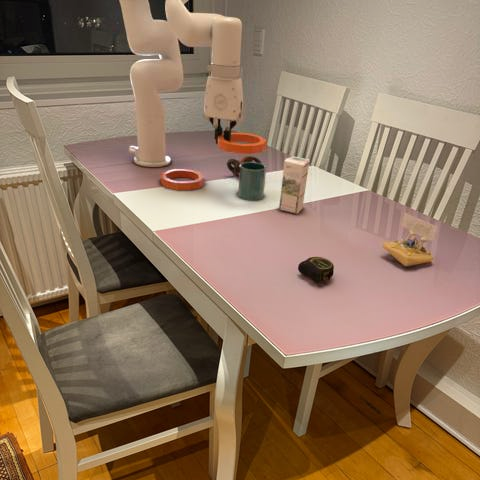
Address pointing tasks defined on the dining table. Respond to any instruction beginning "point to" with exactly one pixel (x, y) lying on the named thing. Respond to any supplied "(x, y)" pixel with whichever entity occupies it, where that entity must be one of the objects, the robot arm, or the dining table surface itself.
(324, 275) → the tape measure
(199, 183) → the orange ring
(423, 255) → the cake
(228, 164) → the broken clay pot
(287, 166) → the syrup box
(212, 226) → the dining table surface
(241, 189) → the tumbler
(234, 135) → the orange ring
